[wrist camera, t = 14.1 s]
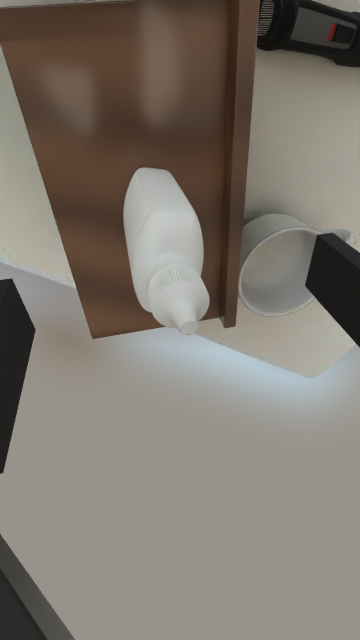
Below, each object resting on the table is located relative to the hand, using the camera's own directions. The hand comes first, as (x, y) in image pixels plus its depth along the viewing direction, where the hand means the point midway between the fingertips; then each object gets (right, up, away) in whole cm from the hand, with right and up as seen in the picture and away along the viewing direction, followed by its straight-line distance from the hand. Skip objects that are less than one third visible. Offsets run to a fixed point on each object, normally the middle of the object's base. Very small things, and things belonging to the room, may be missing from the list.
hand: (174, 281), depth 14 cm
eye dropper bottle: (-2, +6, +7) cm, 9 cm away
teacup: (+12, +8, +27) cm, 30 cm away
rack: (-4, +14, +18) cm, 23 cm away
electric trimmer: (+14, +24, +15) cm, 31 cm away
